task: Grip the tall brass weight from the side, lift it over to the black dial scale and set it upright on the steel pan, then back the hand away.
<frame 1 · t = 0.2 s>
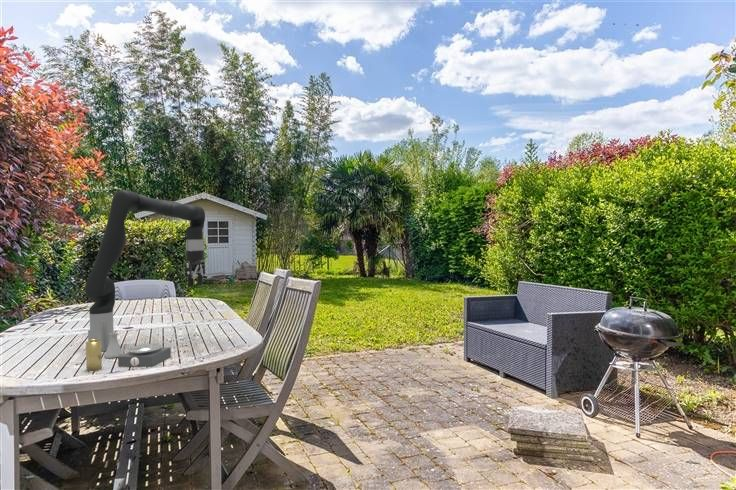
hand: (195, 285, 194), 29 cm above the table, tool pointing down, fingers open, 8 cm apart
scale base: (145, 361, 176), on the table
flask: (113, 356, 185), on the table
scale pan: (145, 348, 176), point 5 cm above the table, slide at 0.6 cm
brass weight: (94, 369, 166), on the table
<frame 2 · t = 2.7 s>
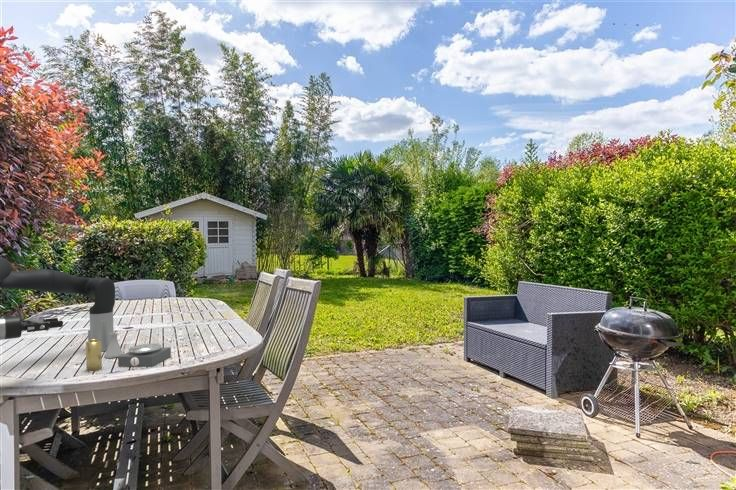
hand: (60, 322, 158), 20 cm above the table, tool horizontal, fingers open, 8 cm apart
nothing on the table moved.
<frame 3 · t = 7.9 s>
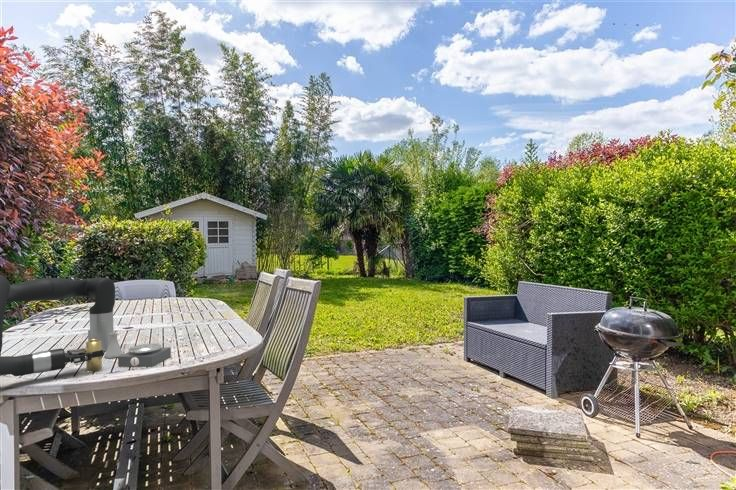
hand: (101, 351, 168), 7 cm above the table, tool horizontal, fingers closed on brass weight, 5 cm apart
brass weight: (94, 369, 166), on the table, touching gripper
everything else where it was.
when the fingers open (14 cm above the table, at t = 12.4 s): brass weight drops 2 cm, resting on scale pan.
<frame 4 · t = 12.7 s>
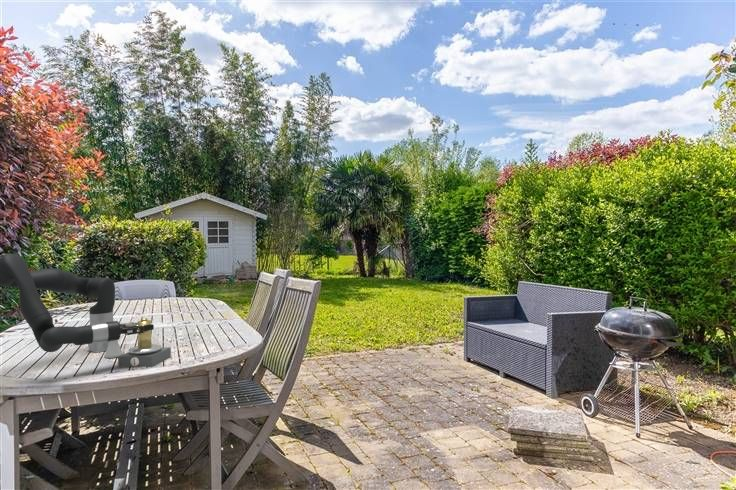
hand: (150, 325, 177), 15 cm above the table, tool horizontal, fingers open, 7 cm apart
scale pan: (145, 349, 176), point 5 cm above the table, slide at 0.9 cm, touching brass weight
brass weight: (144, 347, 176), point 6 cm above the table, touching scale pan
everything else where it was.
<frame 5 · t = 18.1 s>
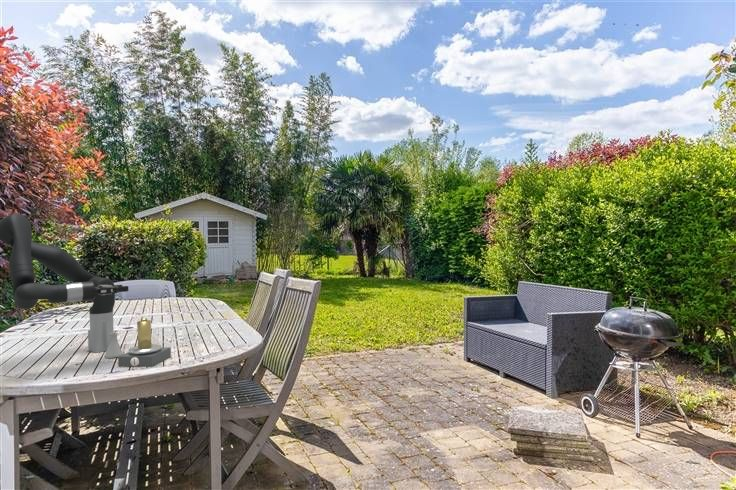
hand: (125, 287, 181), 30 cm above the table, tool horizontal, fingers open, 8 cm apart
nothing on the table moved.
at the end: brass weight inside the target area on the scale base (0.1 cm from its centre), point 5.7 cm above the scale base's base; brass weight tilted 0°; the gripper is holding nothing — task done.
